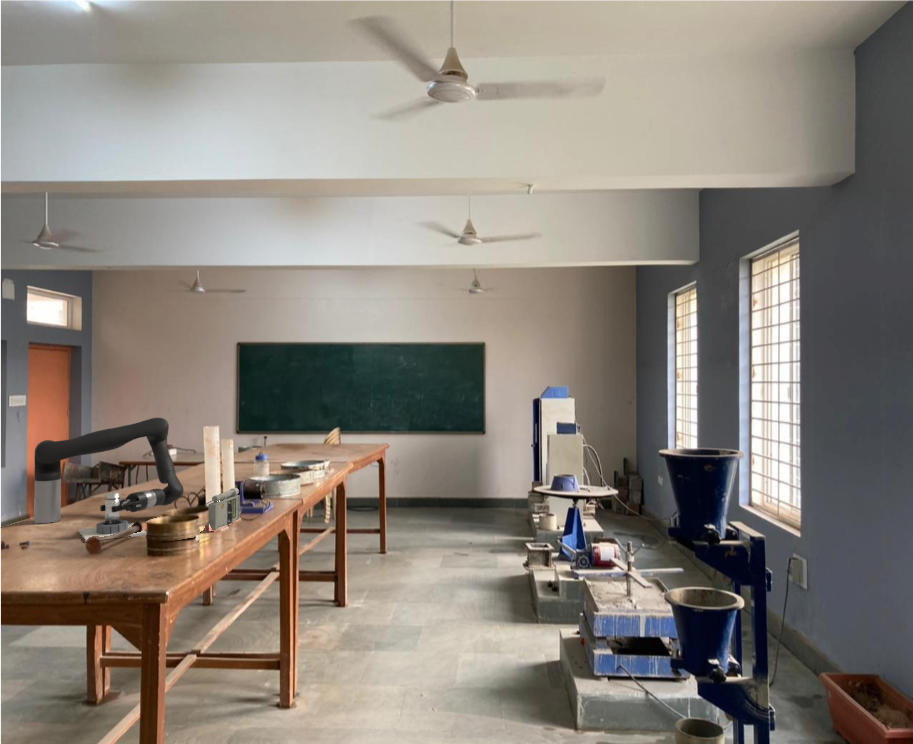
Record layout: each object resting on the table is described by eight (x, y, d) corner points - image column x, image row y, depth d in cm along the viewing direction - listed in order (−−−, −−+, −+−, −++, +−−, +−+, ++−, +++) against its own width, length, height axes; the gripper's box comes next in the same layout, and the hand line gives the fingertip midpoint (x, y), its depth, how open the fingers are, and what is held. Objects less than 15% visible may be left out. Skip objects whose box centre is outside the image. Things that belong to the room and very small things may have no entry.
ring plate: (86, 542, 241) (86, 531, 241) (78, 531, 257) (79, 521, 257) (146, 535, 253) (146, 524, 253) (135, 525, 269) (135, 515, 269)
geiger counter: (218, 496, 258) (248, 485, 282) (202, 495, 259) (234, 485, 283) (217, 532, 258) (247, 518, 282) (202, 531, 259) (233, 517, 283)
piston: (106, 526, 251) (106, 495, 251) (103, 524, 255) (103, 493, 255) (120, 525, 254) (121, 493, 254) (118, 522, 258) (118, 491, 258)
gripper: (127, 490, 271) (92, 497, 255) (155, 492, 266) (121, 500, 250) (127, 508, 271) (92, 517, 255) (155, 511, 266) (121, 520, 250)
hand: (106, 509), depth 252 cm, fingers closed on piston, 5 cm apart
